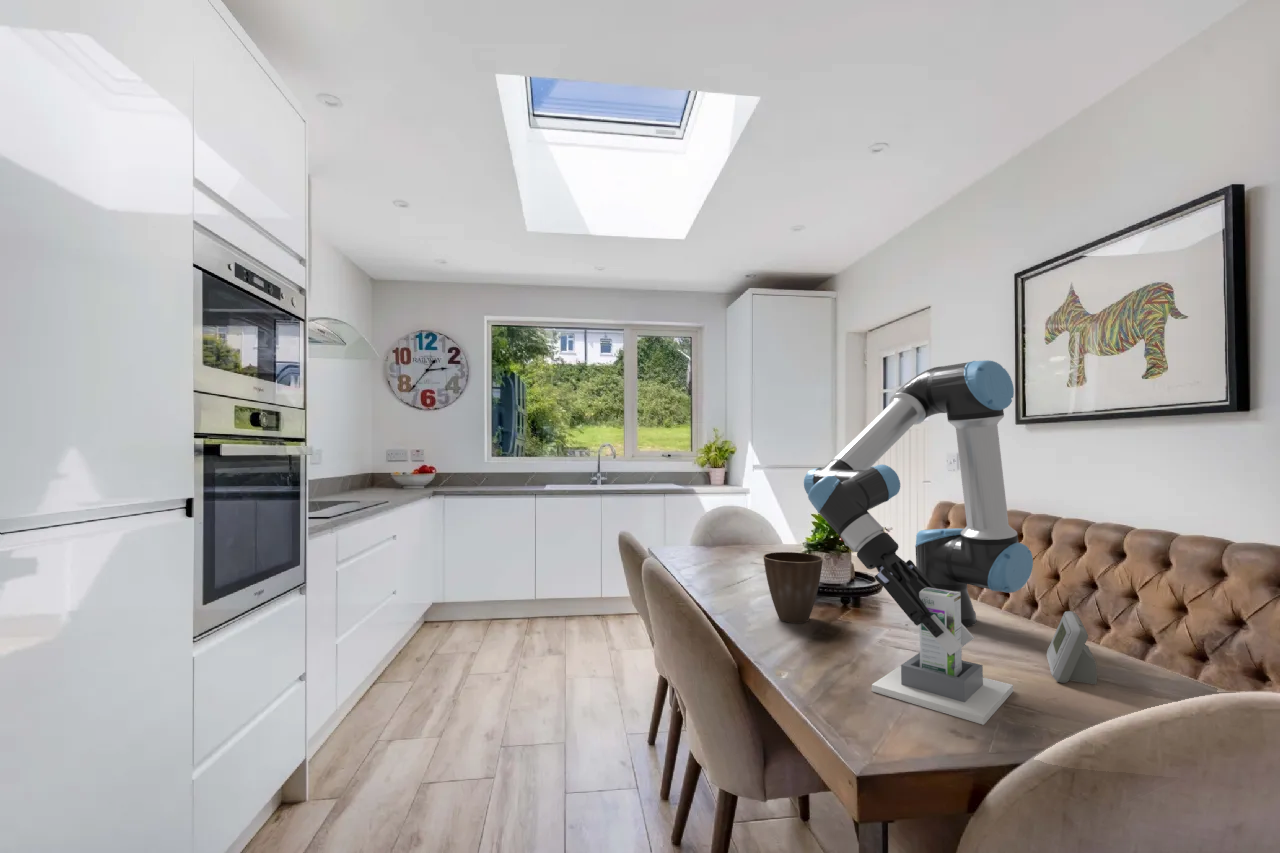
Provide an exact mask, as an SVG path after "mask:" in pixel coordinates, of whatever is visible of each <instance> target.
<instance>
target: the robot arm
mask: <svg viewBox="0 0 1280 853" xmlns="http://www.w3.org/2000/svg"><path fill="white" fill-rule="evenodd" d="M1014 393H1015V389H1014V384H1013V381H1012V377H1011V376H1010V374H1009V372H1008V371H1007V369H1006V368H1004V367H1003V365H1001V363H999V362H997V361H994V360H989V359H988V360H985V359H984V360H972V361H967V362H962V363H961V362H960V363H956V364H949V365H943V366H935V367H931V368H929V369H927V370H924V371H922V372H921V373H919V374H917V375H915V376H914V377H913V378H911V379H910V380H909V381H908V382H906V383H904V384H903V385H902V386H901V387H900V388H899V389H898V390H897V391H896V392H894V394H893V395H892V396H890V398H889V402H888V403H889V404H888V405H887V406H886V407H885V408H884V409H883V410H882V411H881V412H880V413H879V414H877V416H876V417H875V418H874V419H873V420H871V422H869V423H868V425H866V426H865V427H864V428H863V429H862V430H861V431H860V432H859V433H858V434H857V435H856V436H855V437H854V438H853V439H852V440H851V441H850V442H849V443H848V444H847V445H846V446H844V448H843V449H841V451H840V452H838V453H837V454H836V455H835V457H832V458H833V459H831V461H829V462H828V463H826V465H825V466H824V467H816V468H812V469H810V470H808V471H807V472H806V474H805V476H804V478H803V488H804V491H805V493H806V494H807V498H808V500H809V502H810V503H811V505H812V506H813V507H814V509H815V510H816V511H817V513H818V514H819V515H820V516H821V517H822V519H824V520H825V522H826V523H827V524H828V525H829V526H830V527H831V528H832V529H833V531H835V533H836V534H837V535H838V536H839V538H840V539H842V541H843V542H844V546H846V547H848V548H849V549H850V550H851V551H852V552H853V553H856V558H858V560H859V561H860V562H861V563H862V564H863V566H864V567H865V568H866V569H868V570H873V569H876V571H877V572H878V573H877V574H876V575H874V579H875V581H877V582H878V583H879V584H880V585H881V586H882V587H883V588H884V589H885V591H886V592H887V593H888V595H890V597H892V599H893V600H894V601H895V603H896V604H897V605H898V607H900V608H901V610H902V611H903V613H904V614H905V615H906V616H907V617H908V618H909V619H910V621H911V622H912V623H913V624H914V625H915V626H917V627H918V626H920V624H921V623H922V624H923V625H924V626H925V628H926V629H927V630H928V631H929V632H930V633H931V635H932V636H933V637H934V638H935V639H936V640H937V641H938V643H939V644H940V645H941V646H942V647H943V648H944V650H945V651H946V652H947V653H948V654H949V655H950V656H951V655H952V654H953V653H955V652H956V651H958V650H959V649H960V648H962V649H963V648H964V646H966V645H967V644H969V643H970V642H971V641H973V640H974V639H975V636H973V634H972V633H971V631H970V630H968V628H967V627H972V626H974V625H976V624H977V614H976V611H975V608H974V606H973V603H972V600H971V597H970V594H969V592H968V585H970V586H974V587H975V586H976V587H979V588H984V589H986V590H990V591H992V592H1003V593H1015V592H1018V591H1020V590H1021V589H1022V588H1024V586H1025V585H1027V583H1028V581H1029V579H1030V577H1031V575H1032V571H1033V566H1034V561H1033V560H1034V559H1033V554H1032V551H1031V549H1030V548H1029V547H1028V546H1027V545H1026V544H1024V543H1022V542H1019V537H1018V531H1017V530H1015V529H1014V528H1013V527H1012V526H1011V525H1009V524H1010V523H1009V516H1008V508H1007V497H1006V489H1005V488H1006V487H1005V480H1004V472H1003V462H1002V455H1001V454H1002V453H1001V445H1000V437H999V435H1000V434H999V427H998V424H999V422H1000V421H1001V420H1002V419H1003V418H1004V417H1005V412H1004V411H1005V409H1007V408H1008V407H1009V406H1010V405H1011V404H1012V402H1013V400H1012V399H1013V398H1014V396H1015V394H1014ZM937 414H946V418H947V422H948V423H949V424H950V425H952V426H954V428H955V433H956V442H957V450H958V458H959V459H958V460H959V469H960V477H961V486H962V494H963V502H964V512H965V520H966V526H965V527H964V528H934V529H933V528H931V529H923V530H919V531H918V532H917V533H916V535H915V536H916V537H915V545H914V547H915V563H914V562H913V561H912V560H911V559H908V560H907V561H905V560H904V559H903V558H901V557H900V556H898V555H897V553H896V552H897V551H898V550H899V548H900V547H899V544H898V542H896V540H894V538H893V537H892V536H891V535H890V534H889V533H888V532H884V527H883V526H882V525H881V524H880V523H879V522H878V521H877V520H876V519H875V518H874V517H873V515H872V514H871V513H870V512H869V511H870V510H871V509H873V508H875V507H877V506H879V505H881V504H883V503H886V502H888V501H890V500H891V499H893V497H895V496H897V495H898V494H899V492H900V491H901V490H900V489H901V481H900V478H899V474H897V472H896V471H895V470H894V468H892V467H890V466H888V465H886V464H877V465H875V464H876V463H877V462H878V461H879V459H881V457H883V456H884V455H885V454H886V453H887V452H888V451H889V449H890V448H891V447H893V446H894V444H896V443H897V442H898V441H899V440H900V439H901V438H902V437H903V435H905V434H906V433H907V432H908V431H909V430H910V429H911V428H912V427H913V426H915V425H920V424H921V423H923V422H924V421H925V419H927V418H928V417H931V416H934V415H937ZM927 587H930V588H935V589H942V590H948V591H955V592H960V593H961V643H960V642H959V641H958V640H957V639H956V638H955V637H954V635H953V634H952V633H951V632H950V631H949V630H948V629H947V628H946V626H945V625H944V624H943V623H942V622H941V621H940V620H939V619H938V617H937V616H936V615H935V614H933V615H932V616H931V613H930V612H929V610H928V609H927V608H926V606H925V605H924V603H923V602H922V601H921V599H920V598H919V592H920V591H921V590H922V589H924V588H927ZM930 616H931V617H930Z"/></svg>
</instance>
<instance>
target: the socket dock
mask: <svg viewBox="0 0 1280 853" xmlns="http://www.w3.org/2000/svg"><path fill="white" fill-rule="evenodd" d="M983 667H984V666H983V664H978V663H975V662H971V661H965V660H962V671H961V672H960V673H959V674H958V676H957V677H955V676H952V675H948V674H944V673H940V672H936V671H932V670H928V669H924V668H920V652H918V653H917V654H915V655H914V656H912V657H911V658H909V659H908V660H906V661H905V662H903V663H902V664H901V665H899V666H897V667H896V668H894V669H893V670H891V671H890V672H888V673H886V675H884V676H883V677H881V678H879V679H878V680H876V681H875V682H873V683H872V684H871V692H873V693H877V694H879V695H883V696H886V697H890V698H893V699H897V700H900V701H903V702H906V703H909V704H913V705H915V706H916V705H917V706H919V707H923V708H927V709H930V710H933V711H936V712H938V713H943V714H947V715H950V716H953V717H955V718H959V719H963V720H965V721H970V722H973V723H976V724H979V725H982V726H984V725H985V724H986V723H987V722H988V721H989V719H991V717H992V716H994V714H995V713H996V712H997V710H998V709H1000V707H1001V706H1002V705H1003V704H1004V703H1005V702H1006V700H1007V699H1008V698H1009V697H1010V696H1011V694H1013V692H1014V685H1013V684H1011V683H1007V682H1002V681H999V680H996V679H995V680H994V679H992V678H991V679H990V678H987V677H984V673H983V672H984V671H983Z"/></svg>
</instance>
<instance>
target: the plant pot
mask: <svg viewBox="0 0 1280 853" xmlns="http://www.w3.org/2000/svg"><path fill="white" fill-rule="evenodd" d="M762 557H763V564H764V571H765V575H766V581H767V585H768V589H769V593H770V597H771V600H772V604H773V606H774V609H775V611H776V612H775V613H776V615H777V617H778V620H780V619H781V620H780V621H782V620H783V621H782V622H785V621H786V622H787V623H790V622H792V624H802V622H804V623H806V621H807V622H808V621H809V619H810V616H811V615H812V612H813V611H812V610H813V609H814V606H815V602H816V598H817V595H818V591H819V586H820V582H821V577H822V576H821V575H822V568H823V559H824V558H823V557H822V556H820V555H818V554H817V555H816V554H811V553H803V552H792V551H791V552H790V551H779V552H778V551H777V552H768V553H766V554H765V553H764V554H763V555H762ZM786 622H785V623H786Z"/></svg>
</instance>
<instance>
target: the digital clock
mask: <svg viewBox="0 0 1280 853" xmlns="http://www.w3.org/2000/svg"><path fill="white" fill-rule="evenodd" d="M1088 638H1089V635H1088V632H1087V630H1086V628H1085V625H1084V624H1083V622H1082V620H1081V618H1080V616H1079V615H1078V614H1077V613H1076V612H1074V611H1072V610H1067V611H1064V612H1063V615H1062V617H1061V619H1060V622H1059V624H1058V626H1057V628H1056V630H1055V633H1054V635H1053V637H1052V639H1051V642H1050V644H1049V647H1048V648H1047V650H1046V658H1047V662H1048V666H1049V670H1050V674H1051V676H1052V678H1053V679H1054V680H1055V681H1056V682H1059V683H1060V684H1061V683H1062V684H1065V683H1068V682H1069V681H1071V682H1078V683H1084V684H1091V685H1097V684H1098V681H1097V680H1098V679H1097V678H1098V677H1097V674H1098V673H1097V662H1096V659H1095V657H1094V656H1093V653H1092V651H1091V650H1090V647H1089V645H1087V644H1086V643H1087V641H1088Z"/></svg>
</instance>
